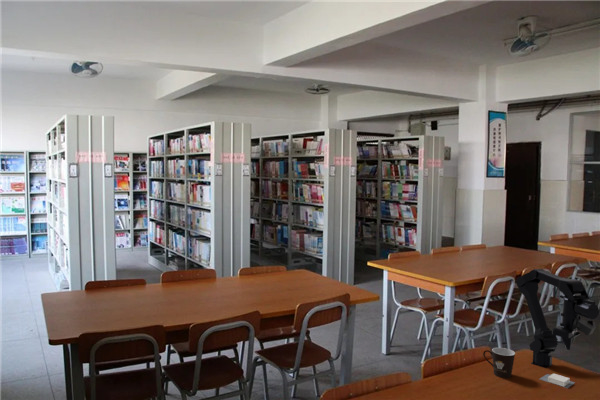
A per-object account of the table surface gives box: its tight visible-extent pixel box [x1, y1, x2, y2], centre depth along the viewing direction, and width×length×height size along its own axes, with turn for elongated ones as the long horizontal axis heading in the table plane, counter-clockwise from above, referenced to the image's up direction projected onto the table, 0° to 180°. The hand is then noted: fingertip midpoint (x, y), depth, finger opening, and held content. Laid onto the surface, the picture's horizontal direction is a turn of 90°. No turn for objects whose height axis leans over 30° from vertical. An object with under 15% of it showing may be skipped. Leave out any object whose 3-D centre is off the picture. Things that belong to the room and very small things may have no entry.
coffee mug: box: [482, 347, 516, 379], centre depth 193 cm, size 12×9×10 cm
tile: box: [547, 373, 571, 388], centre depth 186 cm, size 6×2×6 cm
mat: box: [539, 373, 576, 389], centre depth 187 cm, size 10×8×1 cm
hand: (568, 349), depth 190 cm, fingers closed
